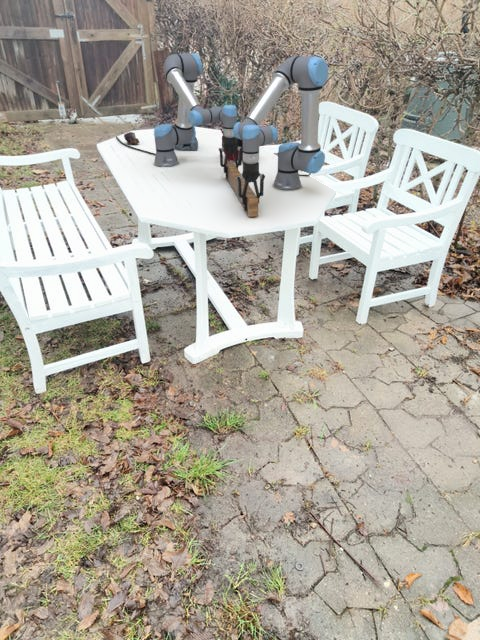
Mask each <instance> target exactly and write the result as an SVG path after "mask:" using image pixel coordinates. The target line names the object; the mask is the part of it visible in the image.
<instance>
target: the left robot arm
mask: <svg viewBox="0 0 480 640" xmlns="http://www.w3.org/2000/svg"><path fill="white" fill-rule="evenodd" d="M201 59H202V58H200V55H198V54H197V53H195V52H194V53H192V52H187V53H173V54H170V55H169V56H167V58H166V59H165V61H164V63H163V74H164V78H165V79H166V81H167V82H168V84H171V86H172V88H173V89H174V90H175V92H176V93H177V95H178V102H177V103H178V104H177V116H176V117H177V118H176V119H175V121H174V123H173V124H174V125H172V124H171V123H161V124H159V125H156V126H155V127H154V129H153V136H154V145H155V153H154V152H150V151H148V150H144V149H140V148H137V147H133V146H131V145H129V144H126V143H124V142H123V141H121V140H120V139H119V137H118V136H117V135H116V136H115V138H116V139H117V141H118V142H119V143H120V144H122V145H123V146H125V147H128V148H130V149H132V150H137V151H140V152H143V153H147V154H150V155H154V165H155V166H157V167H163V168H164V167H165V168H167V167H168V168H169V167H174V166H177V165H178V164H179V159H178V157H177V153H176V151H175V147H174V146H175V145H181V144H188V143H191V142H193V141H194V139H195V137H196V136H197V135H196V133H197V132H196V127H195V126H202V125H208V124H217V123H221V124H222V126H223V127H222V130H223V134H224V145H223V147H222V146H221V147H219V148H218V151H219V163H220V164H219V165H220V167H221V168H223V173H224V174H225V173H226V175H225V179H226V180H227V179H228V168H227V167H226V165H227V162H228V156H229V154H233V157H234V161H233V162H234V164H235V166H236V167H237V169H238V170H239V167H241V166H242V161H241V152H242V147H238V145H237V138H236V137H235V136H234V133H233V128H234V125H235V124H236V123H237V122H238V111H237V106H236V105H235V104H224V105H223V106H222V107H221V106H216V105H214V106H212V107H210V108H204V107H203V106H202V105H201V103H200V101H199V99H198V98H197V97H196V95H195V93H194V90H195V84H196V83H197V82H198V78H199V77H200V76H201V75H202V74H203V69H204V67H203V62H202V60H201ZM223 134H222V135H223ZM237 148H238V151H239V153H238V161H237V158H236V153H235V152H236V150H237ZM223 149H224V150H225V151H226V155H225V154H224V152H223ZM223 154H224V155H223Z"/></svg>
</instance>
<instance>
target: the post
mask: <svg viewBox="0 0 480 640" xmlns="http://www.w3.org/2000/svg"><path fill="white" fill-rule="evenodd" d="M226 167H227V168H228V179H226V180H227V181H228V183H229V185H230V186H231V188H232V190H233V192H234V193H235V195H236V197H237V200H239V202H240V204H241V206H242V207H243V208H244V205H243V204H242V198H240V197H239V196H238V180H237V176H240V175H242V173H241V171H240V170H239V168H238V169H237V167H236V165H235V162H234V161H232V160H231V161H230V162H228V161H227V165H226ZM224 174H225V176H226V173H224ZM244 184H245V179H244V178H243V177H242V180H241V188H242V193H243V188H244ZM246 198H247V212H246V214H247V216H248V217H249V218H252V217H259V204H258V198H257V196H256V192H255V191H253V189H252V188H251V186H250V185H248V188H247V192H246Z"/></svg>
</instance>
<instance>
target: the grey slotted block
mask: <svg viewBox="0 0 480 640" xmlns="http://www.w3.org/2000/svg"><path fill="white" fill-rule="evenodd" d="M174 149H176V150H179V151H197V150H198V149H199V141H198V138H197V137H196V136H195V139H194V141H193V142H191V143H188V144H181V145H175V146H174Z"/></svg>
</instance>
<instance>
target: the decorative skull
mask: <svg viewBox="0 0 480 640" xmlns="http://www.w3.org/2000/svg"><path fill="white" fill-rule="evenodd" d="M220 133H221V134H222V135H221V148H222V147H223V145H224V134H223V129H220ZM237 145H238V147H242V152H241V162H244V161H243V140H241V139H238V138H237ZM222 153H223V154H224V156H225V155H226V151H225V150H224V149H223V152H222ZM235 153H236V158H237V162H238V153H239V151H238V148H237V150H236V152H235ZM232 161H233V162H235V161H234V157H233V154H229V156H228V160H227V162H232Z"/></svg>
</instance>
